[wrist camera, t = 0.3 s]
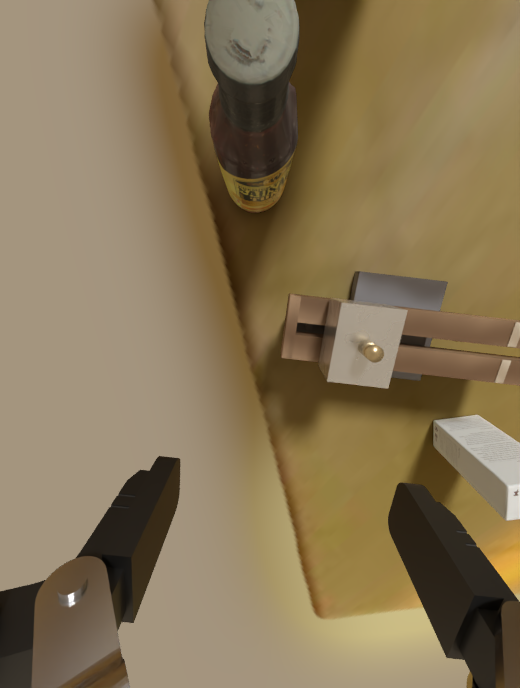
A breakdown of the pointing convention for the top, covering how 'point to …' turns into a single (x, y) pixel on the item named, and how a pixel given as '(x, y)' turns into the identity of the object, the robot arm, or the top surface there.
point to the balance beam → (412, 330)
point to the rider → (360, 342)
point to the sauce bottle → (253, 96)
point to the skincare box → (483, 460)
